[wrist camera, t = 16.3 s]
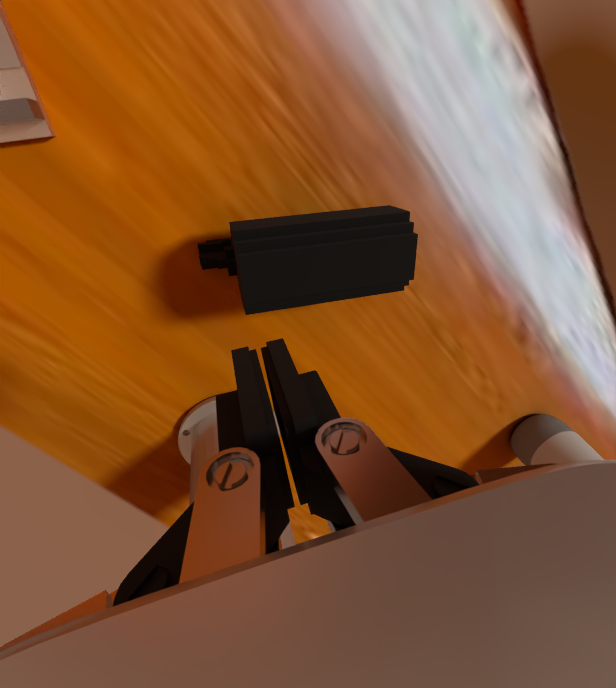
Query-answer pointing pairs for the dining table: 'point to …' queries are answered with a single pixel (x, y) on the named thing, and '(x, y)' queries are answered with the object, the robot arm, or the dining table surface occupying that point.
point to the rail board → (18, 92)
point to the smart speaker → (549, 442)
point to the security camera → (316, 257)
